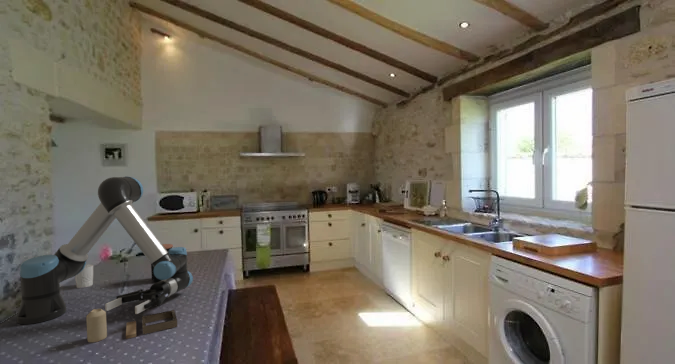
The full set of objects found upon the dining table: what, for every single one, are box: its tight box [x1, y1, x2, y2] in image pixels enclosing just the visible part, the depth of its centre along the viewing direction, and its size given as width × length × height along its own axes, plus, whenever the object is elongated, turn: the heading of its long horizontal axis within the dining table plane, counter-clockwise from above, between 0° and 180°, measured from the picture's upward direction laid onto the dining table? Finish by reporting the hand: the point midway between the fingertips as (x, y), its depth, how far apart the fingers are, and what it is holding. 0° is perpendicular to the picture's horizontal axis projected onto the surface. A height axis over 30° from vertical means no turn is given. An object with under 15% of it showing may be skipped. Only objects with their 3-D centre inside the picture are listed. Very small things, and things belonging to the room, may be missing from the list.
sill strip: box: [125, 320, 137, 340], centre depth 123 cm, size 3×12×1 cm, turn 31°
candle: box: [86, 308, 108, 343], centre depth 118 cm, size 6×6×10 cm
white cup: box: [74, 264, 94, 289], centre depth 175 cm, size 8×8×10 cm
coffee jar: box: [150, 243, 174, 283], centre depth 182 cm, size 11×11×18 cm
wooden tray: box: [141, 309, 178, 335], centre depth 127 cm, size 11×11×2 cm
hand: (120, 308), depth 127 cm, fingers open, 13 cm apart
